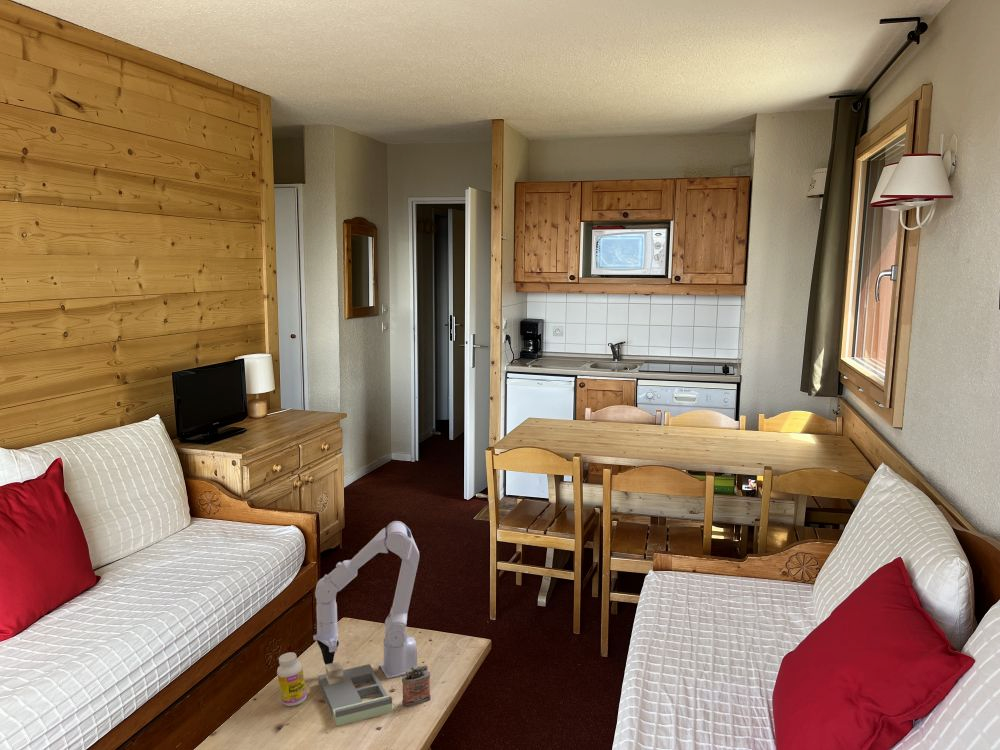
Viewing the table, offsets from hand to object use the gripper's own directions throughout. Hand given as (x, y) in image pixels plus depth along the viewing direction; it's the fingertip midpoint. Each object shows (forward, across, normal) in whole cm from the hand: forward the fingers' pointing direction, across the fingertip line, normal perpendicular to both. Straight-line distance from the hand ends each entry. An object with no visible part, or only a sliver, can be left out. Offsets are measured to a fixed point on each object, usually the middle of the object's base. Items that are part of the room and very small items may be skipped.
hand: (328, 663), depth 220 cm
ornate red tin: (+4, +24, +19) cm, 30 cm away
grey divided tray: (+3, +14, +4) cm, 15 cm away
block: (+1, +8, 0) cm, 8 cm away
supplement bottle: (+3, +9, -11) cm, 15 cm away
